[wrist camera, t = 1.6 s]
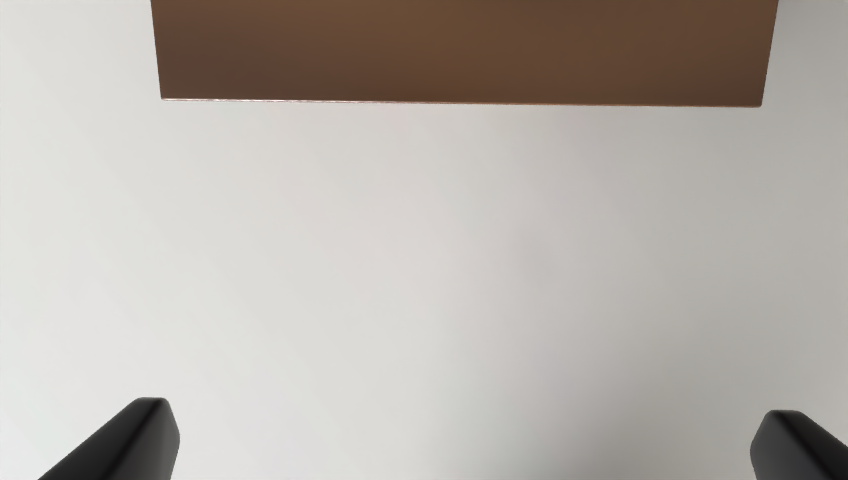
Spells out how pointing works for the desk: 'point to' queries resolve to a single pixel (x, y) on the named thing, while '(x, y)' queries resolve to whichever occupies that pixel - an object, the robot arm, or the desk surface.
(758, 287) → the desk surface
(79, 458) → the robot arm
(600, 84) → the compartment lid
